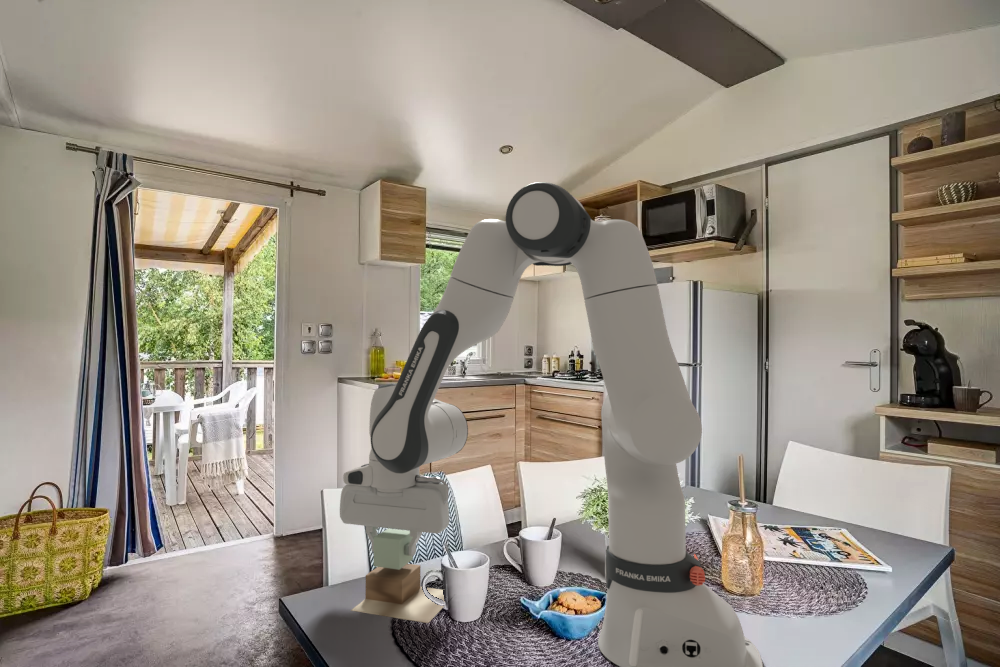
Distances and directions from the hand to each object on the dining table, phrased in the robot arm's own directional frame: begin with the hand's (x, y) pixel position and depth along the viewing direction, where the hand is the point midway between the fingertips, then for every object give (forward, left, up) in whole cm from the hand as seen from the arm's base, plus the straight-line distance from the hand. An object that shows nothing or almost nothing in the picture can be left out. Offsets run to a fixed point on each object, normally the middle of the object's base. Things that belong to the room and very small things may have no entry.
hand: (393, 552), depth 98 cm
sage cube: (0, 0, -2) cm, 2 cm away
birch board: (-4, +2, -8) cm, 9 cm away
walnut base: (0, 0, -7) cm, 7 cm away
